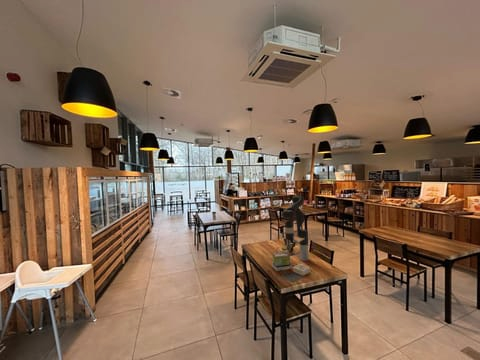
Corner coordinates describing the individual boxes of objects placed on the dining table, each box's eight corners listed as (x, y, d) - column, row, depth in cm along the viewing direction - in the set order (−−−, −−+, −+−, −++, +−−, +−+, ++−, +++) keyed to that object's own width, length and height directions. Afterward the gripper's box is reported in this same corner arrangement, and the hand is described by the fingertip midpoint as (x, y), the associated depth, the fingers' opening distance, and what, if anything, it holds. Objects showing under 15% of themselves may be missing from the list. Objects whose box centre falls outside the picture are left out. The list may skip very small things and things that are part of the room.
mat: (279, 277, 186) (279, 276, 186) (290, 272, 195) (290, 271, 195) (292, 283, 174) (292, 283, 174) (303, 277, 183) (303, 277, 183)
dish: (293, 272, 195) (293, 267, 195) (300, 268, 201) (300, 263, 201) (303, 276, 186) (302, 271, 186) (310, 272, 193) (309, 267, 193)
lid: (280, 252, 186) (280, 245, 186) (289, 249, 194) (289, 242, 194) (291, 256, 176) (291, 248, 176) (300, 252, 184) (299, 245, 184)
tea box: (276, 271, 198) (275, 256, 198) (273, 267, 208) (272, 253, 208) (290, 269, 201) (290, 254, 201) (286, 265, 211) (285, 251, 211)
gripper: (280, 231, 188) (281, 249, 189) (292, 234, 177) (293, 253, 177) (286, 229, 193) (287, 247, 193) (298, 232, 182) (299, 251, 182)
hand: (290, 250), depth 185 cm, fingers closed on lid, 3 cm apart
